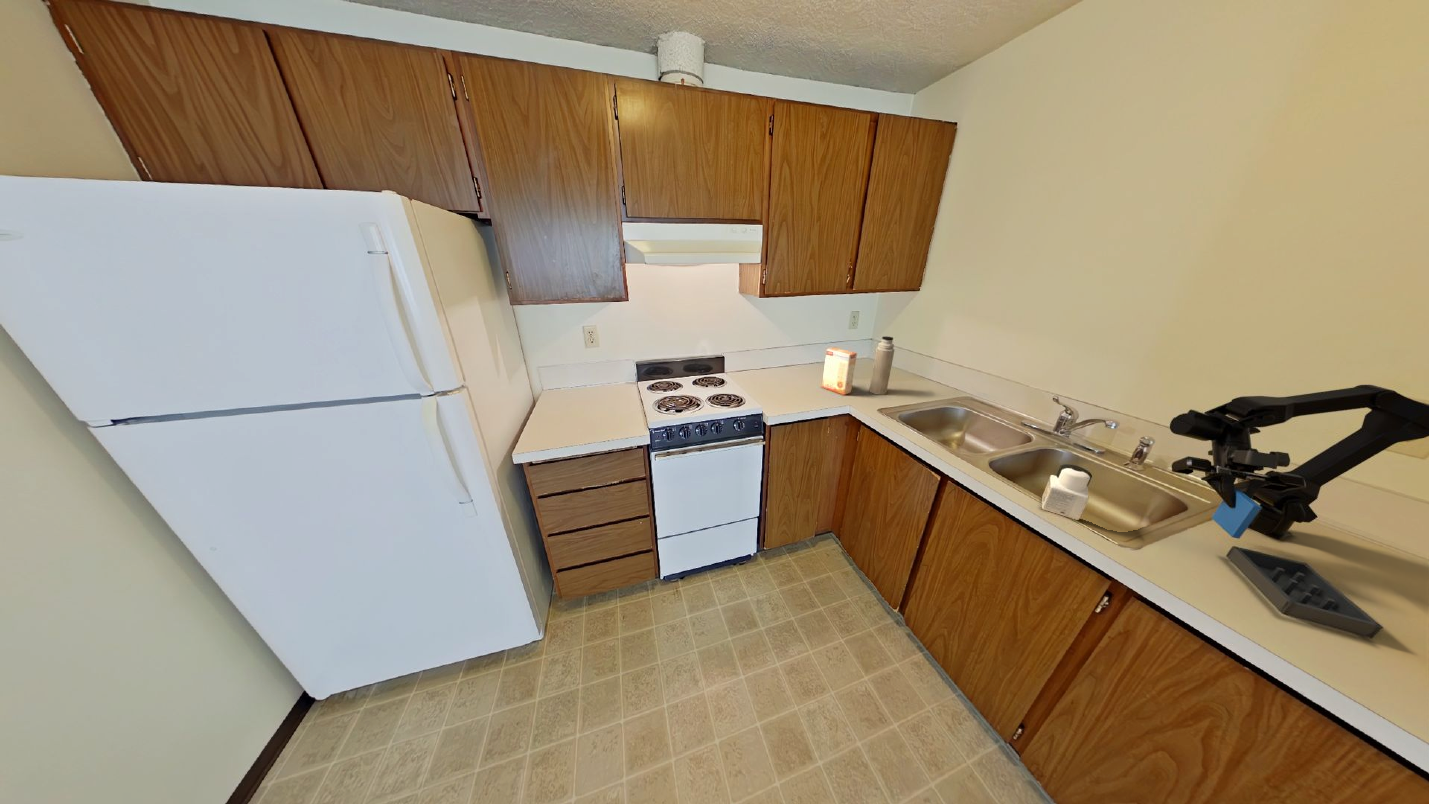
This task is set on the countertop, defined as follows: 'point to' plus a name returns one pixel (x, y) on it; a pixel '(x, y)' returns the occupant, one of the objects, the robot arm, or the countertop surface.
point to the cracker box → (839, 370)
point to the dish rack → (1302, 592)
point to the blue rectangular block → (1236, 514)
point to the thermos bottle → (882, 366)
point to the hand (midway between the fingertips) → (1237, 508)
